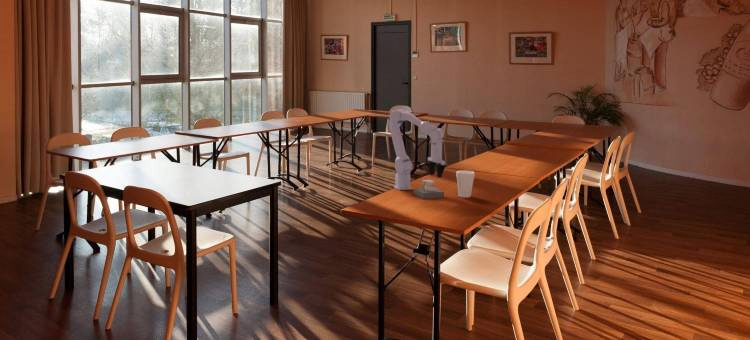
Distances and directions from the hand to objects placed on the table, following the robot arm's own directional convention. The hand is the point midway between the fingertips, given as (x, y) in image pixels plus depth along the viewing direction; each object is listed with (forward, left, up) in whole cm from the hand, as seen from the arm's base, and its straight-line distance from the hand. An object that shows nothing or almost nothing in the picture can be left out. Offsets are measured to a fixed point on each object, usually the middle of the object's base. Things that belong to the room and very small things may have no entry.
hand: (435, 176), depth 356 cm
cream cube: (+5, -6, -6) cm, 10 cm away
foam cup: (+11, +12, -10) cm, 19 cm away
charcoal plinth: (+5, -6, -9) cm, 12 cm away
